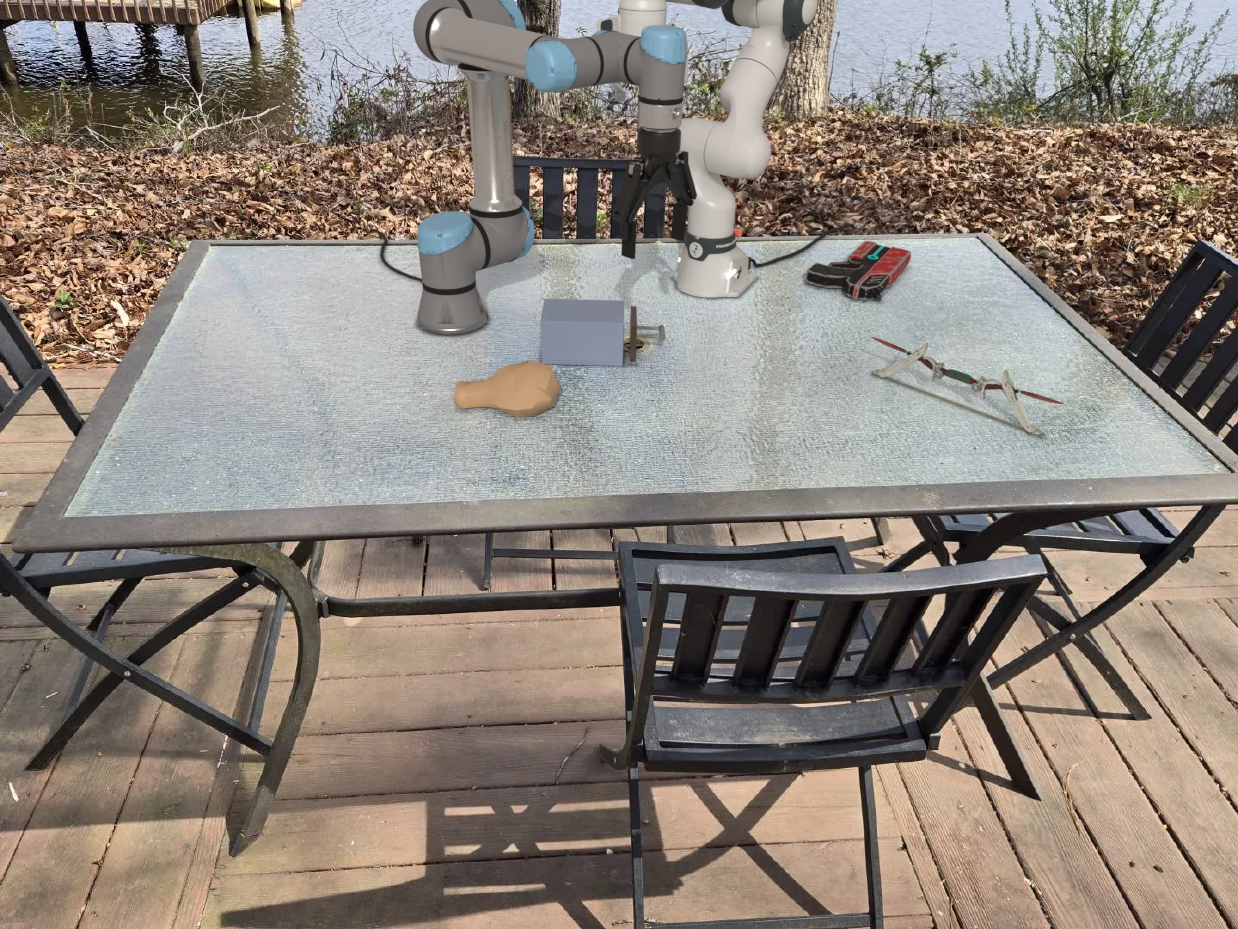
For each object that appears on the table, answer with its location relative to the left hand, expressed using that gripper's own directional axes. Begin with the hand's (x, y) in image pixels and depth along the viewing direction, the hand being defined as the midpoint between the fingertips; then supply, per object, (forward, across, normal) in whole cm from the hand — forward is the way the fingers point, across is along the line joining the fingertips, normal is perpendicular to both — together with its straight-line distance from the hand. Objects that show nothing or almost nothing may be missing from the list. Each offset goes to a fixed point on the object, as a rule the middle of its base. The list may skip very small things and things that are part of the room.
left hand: (653, 248), depth 161 cm
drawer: (+26, +3, +13) cm, 30 cm away
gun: (+27, +81, 0) cm, 85 cm away
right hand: (-20, +16, +19) cm, 32 cm away
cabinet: (+27, -1, +17) cm, 32 cm away
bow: (+27, +36, -48) cm, 66 cm away
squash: (+27, -28, +10) cm, 40 cm away
